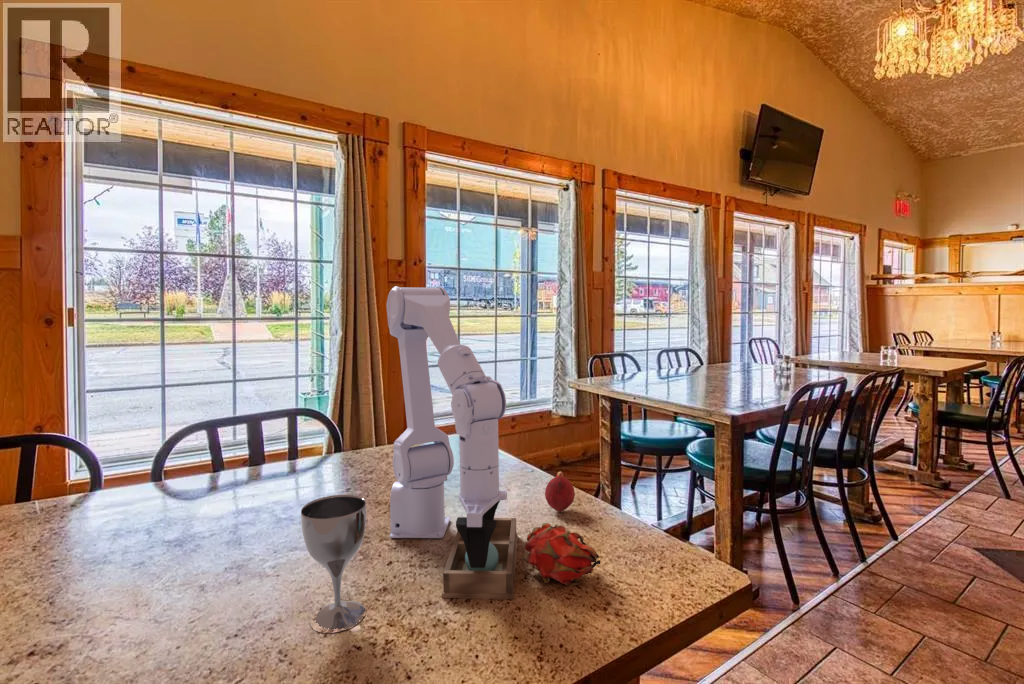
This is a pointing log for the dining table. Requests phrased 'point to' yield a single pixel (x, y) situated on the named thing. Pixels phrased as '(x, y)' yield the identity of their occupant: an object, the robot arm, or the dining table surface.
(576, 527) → the dining table surface
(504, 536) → the divided wooden tray
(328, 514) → the wine glass
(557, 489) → the onion
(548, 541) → the dragon fruit
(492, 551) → the ball
